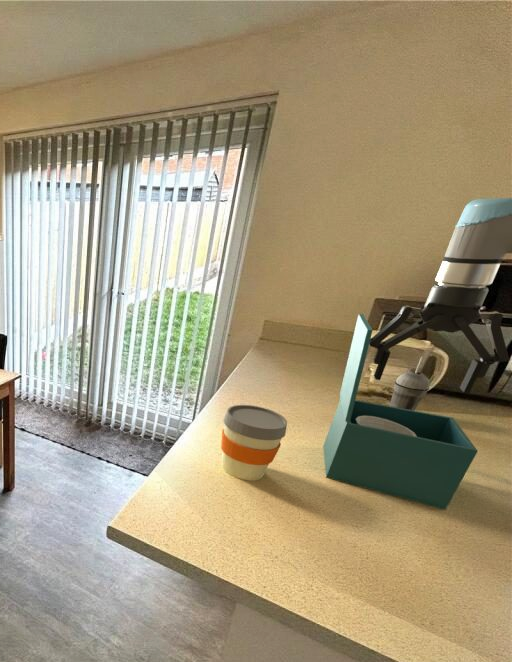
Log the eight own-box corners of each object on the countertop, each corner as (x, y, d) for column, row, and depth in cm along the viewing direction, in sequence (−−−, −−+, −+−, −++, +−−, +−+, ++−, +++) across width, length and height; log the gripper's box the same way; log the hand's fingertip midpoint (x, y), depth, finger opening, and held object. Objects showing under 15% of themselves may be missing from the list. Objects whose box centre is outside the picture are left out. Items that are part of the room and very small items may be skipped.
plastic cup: (398, 489, 88) (419, 443, 83) (337, 470, 95) (354, 427, 90) (398, 467, 95) (418, 424, 91) (341, 451, 102) (357, 410, 97)
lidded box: (426, 471, 95) (453, 417, 89) (445, 509, 83) (478, 450, 77) (323, 446, 106) (341, 397, 100) (326, 477, 94) (346, 423, 88)
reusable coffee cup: (202, 459, 102) (213, 407, 96) (243, 452, 104) (256, 401, 98) (240, 489, 90) (255, 432, 84) (284, 480, 93) (302, 425, 87)
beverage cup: (382, 421, 118) (408, 359, 110) (378, 412, 123) (403, 352, 115) (415, 428, 114) (445, 364, 106) (410, 418, 119) (438, 356, 111)
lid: (363, 313, 92) (358, 313, 93) (372, 329, 80) (367, 329, 81) (343, 395, 100) (339, 395, 100) (349, 422, 87) (345, 421, 88)
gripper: (551, 286, 73) (498, 390, 81) (373, 278, 86) (343, 368, 94) (573, 292, 67) (513, 403, 75) (378, 283, 81) (346, 378, 89)
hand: (418, 384), depth 85 cm, fingers open, 13 cm apart
